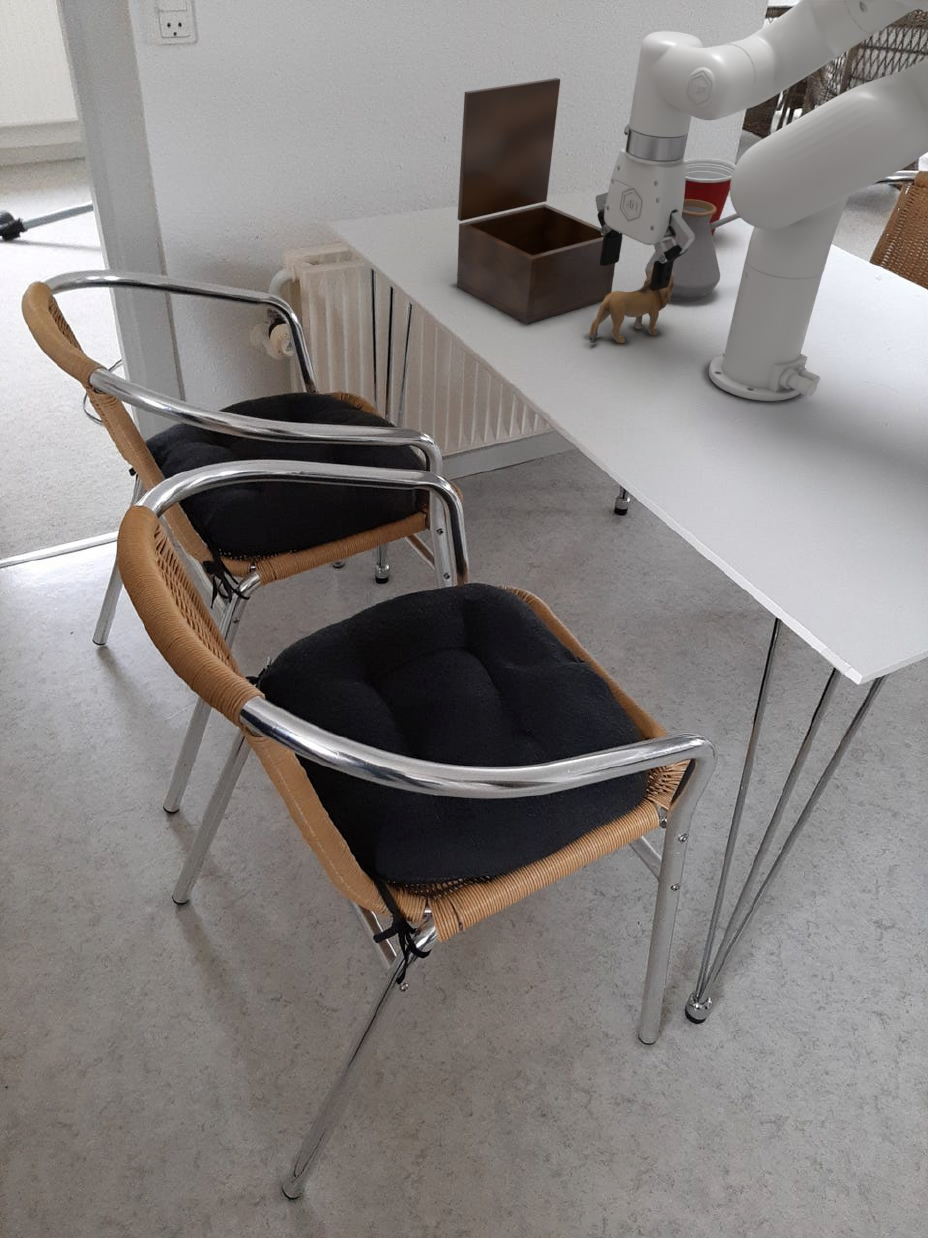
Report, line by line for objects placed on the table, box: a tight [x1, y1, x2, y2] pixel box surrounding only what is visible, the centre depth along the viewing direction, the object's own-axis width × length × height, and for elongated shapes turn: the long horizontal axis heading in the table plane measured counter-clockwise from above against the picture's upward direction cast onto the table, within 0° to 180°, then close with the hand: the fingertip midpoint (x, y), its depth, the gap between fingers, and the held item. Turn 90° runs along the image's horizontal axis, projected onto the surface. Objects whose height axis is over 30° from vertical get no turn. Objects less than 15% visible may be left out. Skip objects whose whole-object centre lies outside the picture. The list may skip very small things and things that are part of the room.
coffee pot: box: [644, 199, 742, 302], centre depth 152 cm, size 21×12×15 cm, turn 98°
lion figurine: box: [588, 267, 675, 344], centre depth 140 cm, size 15×5×9 cm, turn 129°
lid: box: [457, 77, 561, 222], centre depth 147 cm, size 17×17×5 cm
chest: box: [456, 203, 616, 325], centre depth 151 cm, size 16×17×10 cm
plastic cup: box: [683, 157, 737, 237], centre depth 170 cm, size 11×11×12 cm
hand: (633, 275), depth 139 cm, fingers open, 9 cm apart
